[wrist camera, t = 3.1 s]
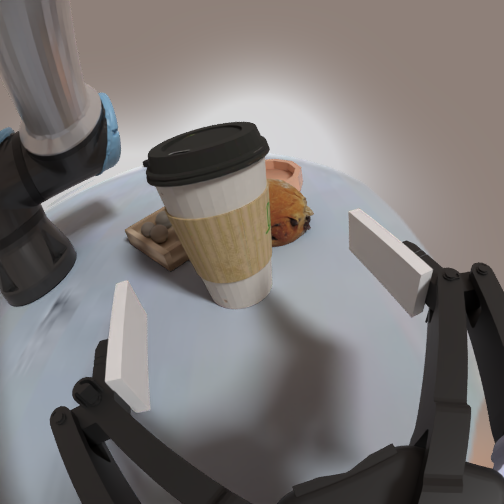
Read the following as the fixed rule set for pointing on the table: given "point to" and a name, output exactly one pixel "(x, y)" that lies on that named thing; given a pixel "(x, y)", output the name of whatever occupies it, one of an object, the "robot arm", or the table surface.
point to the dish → (284, 172)
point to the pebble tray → (158, 250)
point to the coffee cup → (219, 207)
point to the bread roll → (287, 212)
